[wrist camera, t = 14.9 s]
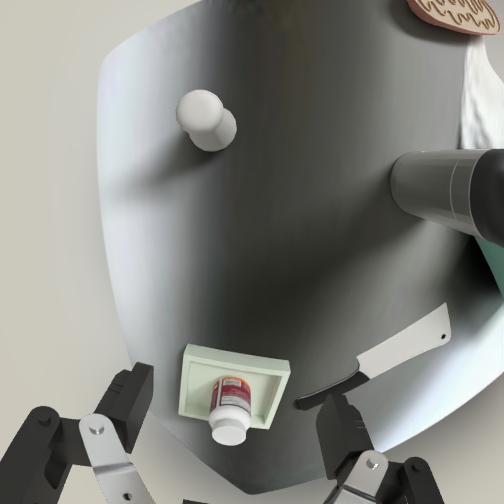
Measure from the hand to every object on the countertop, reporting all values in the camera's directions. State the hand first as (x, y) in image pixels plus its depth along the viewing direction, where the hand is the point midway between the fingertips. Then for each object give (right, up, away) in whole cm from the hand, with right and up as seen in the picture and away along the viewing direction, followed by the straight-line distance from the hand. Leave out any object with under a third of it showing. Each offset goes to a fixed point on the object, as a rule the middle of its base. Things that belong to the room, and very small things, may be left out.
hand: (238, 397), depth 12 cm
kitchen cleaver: (+22, -12, +33) cm, 41 cm away
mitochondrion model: (+36, +48, +17) cm, 62 cm away
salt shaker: (-4, +22, +23) cm, 32 cm away
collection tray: (-3, -16, +33) cm, 37 cm away
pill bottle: (-3, -16, +33) cm, 37 cm away
